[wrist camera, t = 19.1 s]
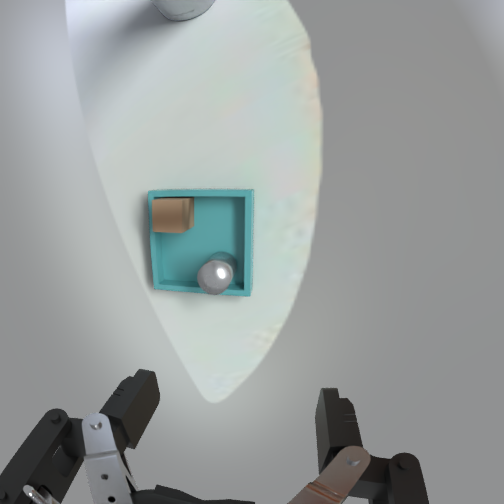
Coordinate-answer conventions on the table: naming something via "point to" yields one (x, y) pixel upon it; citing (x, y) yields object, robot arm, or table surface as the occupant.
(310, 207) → the table surface
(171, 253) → the parts tray
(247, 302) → the table surface
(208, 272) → the metal cylinder
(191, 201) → the walnut block
